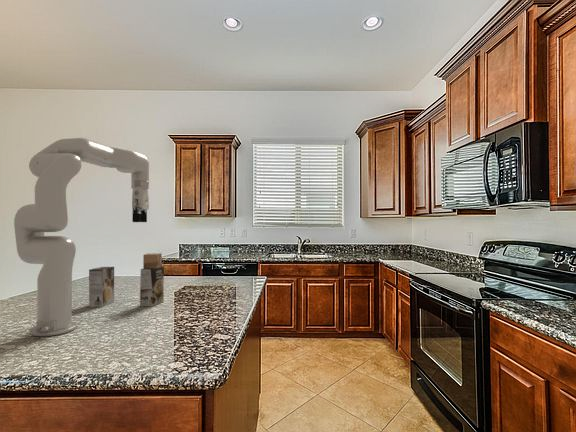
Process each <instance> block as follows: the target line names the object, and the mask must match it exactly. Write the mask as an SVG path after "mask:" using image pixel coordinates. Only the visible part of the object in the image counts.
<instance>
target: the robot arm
mask: <svg viewBox="0 0 576 432" xmlns="http://www.w3.org/2000/svg"><path fill="white" fill-rule="evenodd" d="M82 162H83V163H87V164H90V165H95V166H99V167H101V168H108V169H109V168H110V169H111V168H112V169H116V170H117V171H118V172H120V173H124V174H130V176H131V178H130V181H131V189H132V193H131V194H132V195H131V196H132V197H131V209H132V212H131V213H132V223H147V222H148V210H149V209H150V205H149V204H150V201H149V200H150V199H149V189H150V163H149V160H148V158H147V156H145V155H144V154H141V153H139V152H135V151H134V150H133V151H132V150H128V149H122V148H117V147H112V146H108V145H104V144H103V143H102V144H101V143H98V142H96V141H94V140H90V139H88V138H84V137H73V138H62V139H58V140H56V141H54V142H53V143H50V144H49V145H48V146H46V147H44V148H43V149H42V150H40V151H39V152H37V153H35V154H34V155H33V156H32V157H31V159H30V161H29V163H28V168H29V171H30V173H31V174H32V175H33V176H35V177H37V180H36V182H35V185H34V203H32V204H31V203H29V204H25V205H23V206H21V207H20V208H19V209H18V210H17V211H16V213H15V215H14V218H13V219H14V220H13V226H14V234H15V235H14V236H15V237H14V238H15V245H16V252H17V255H18V257H19V258H20V260H21V261H22V262H24V263H27V264H31V265H32V264H33V265H42V267H41V268H40V270H39V272H38V274H37V280H36V281H37V284H36V285H37V288H36V289H37V292H36V293H37V294H36V295H37V296H36V325H35V326H33V327H31V328H30V329H29V331H28V332H29V333H30V334H31V336H35V337H50V336H58V335H62V334H65V333H69V332H72V331H74V330H75V329H76V328H77V327H78V325H77V322H75V321H72V310H73V309H72V308H73V307H72V305H73V302H72V301H73V300H72V299H73V286H72V285H73V278H72V277H73V266H74V261H75V257H76V251H77V250H76V244H75V242H74V241H73V240H72V239H70V238H68V237H66V236H62V235H45V233H59V232H61V231H64V230H65V229H66V228H67V226H68V220H69V219H68V216H69V215H68V207H67V187H68V185H69V184H70V182H71V180H72V179H74V177H76V176H77V175H78V174H79V172H80V171H81V169H82Z"/></svg>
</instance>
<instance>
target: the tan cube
mask: <svg viewBox="0 0 576 432" xmlns="http://www.w3.org/2000/svg"><path fill="white" fill-rule="evenodd" d="M142 260H143V268H142V269H153V268H160V267H162V253H160V252H159V253H145V254H143V259H142Z"/></svg>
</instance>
